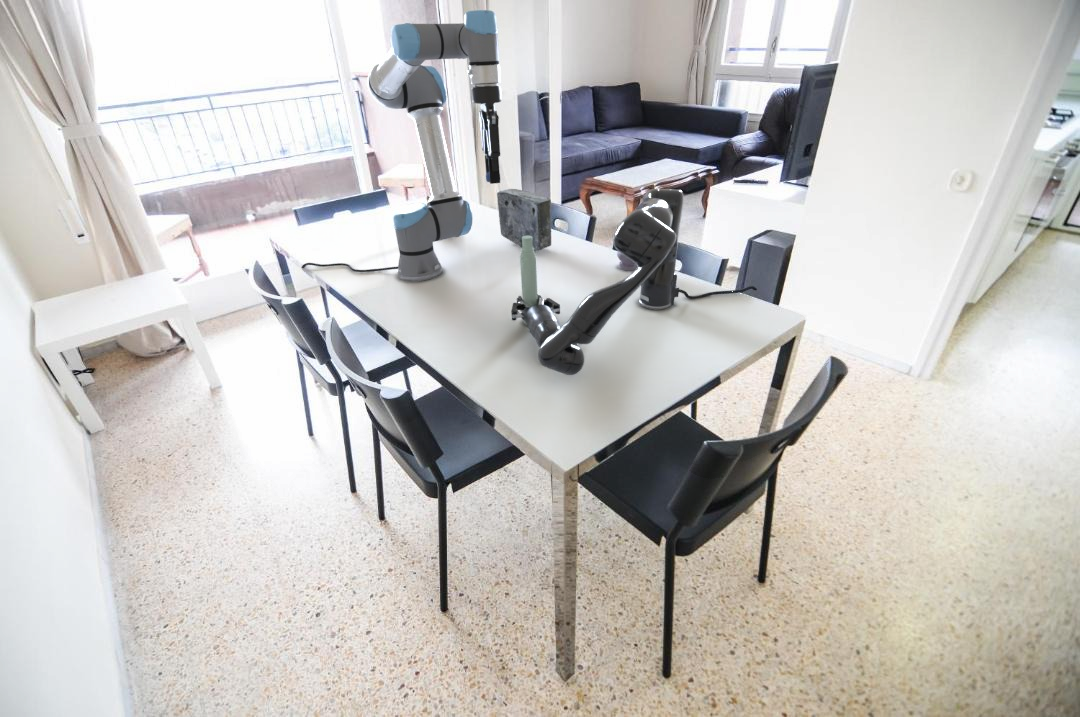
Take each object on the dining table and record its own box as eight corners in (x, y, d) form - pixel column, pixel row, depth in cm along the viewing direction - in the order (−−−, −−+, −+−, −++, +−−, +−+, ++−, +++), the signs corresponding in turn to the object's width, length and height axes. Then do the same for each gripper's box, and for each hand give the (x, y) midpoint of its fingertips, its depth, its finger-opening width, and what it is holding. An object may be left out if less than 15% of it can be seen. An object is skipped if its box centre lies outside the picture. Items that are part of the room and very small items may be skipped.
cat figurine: (645, 266, 174) (647, 232, 168) (632, 273, 170) (634, 238, 163) (624, 261, 180) (626, 228, 173) (611, 267, 175) (613, 233, 168)
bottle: (534, 326, 139) (530, 240, 126) (521, 323, 141) (516, 238, 128) (541, 320, 142) (537, 235, 129) (527, 317, 144) (523, 233, 131)
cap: (497, 178, 140) (496, 170, 138) (502, 181, 137) (502, 173, 135) (484, 180, 138) (483, 172, 137) (489, 183, 135) (489, 175, 134)
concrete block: (556, 252, 190) (555, 199, 179) (537, 257, 186) (535, 203, 175) (517, 236, 209) (515, 187, 198) (500, 240, 204) (496, 190, 194)
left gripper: (465, 84, 131) (474, 176, 143) (477, 87, 117) (486, 189, 130) (493, 83, 133) (499, 174, 145) (508, 85, 119) (514, 186, 131)
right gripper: (569, 307, 126) (551, 282, 140) (514, 315, 123) (502, 289, 137) (569, 333, 130) (552, 306, 144) (516, 341, 127) (504, 313, 141)
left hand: (493, 181), depth 137 cm, fingers closed on cap, 4 cm apart
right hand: (527, 298), depth 141 cm, fingers closed on bottle, 4 cm apart
